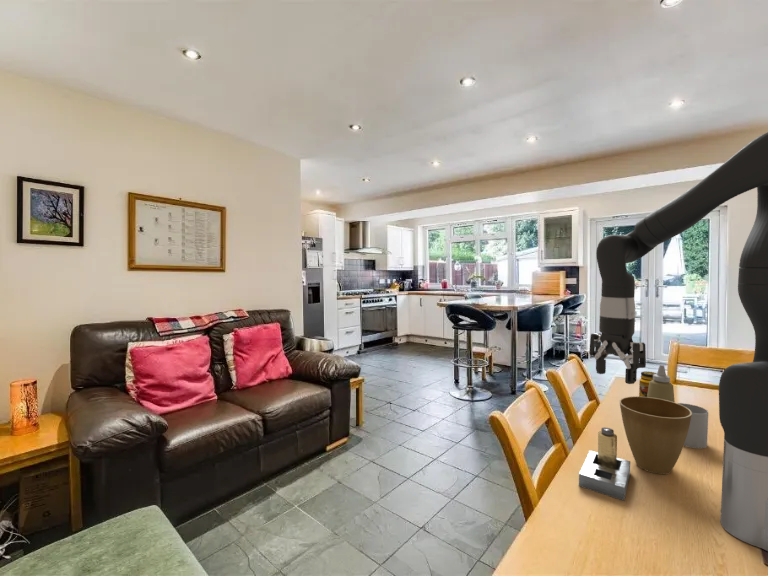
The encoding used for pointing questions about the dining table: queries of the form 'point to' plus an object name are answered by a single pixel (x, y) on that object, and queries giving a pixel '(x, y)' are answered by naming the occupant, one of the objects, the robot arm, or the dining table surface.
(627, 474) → the steel socket block
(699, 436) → the cup
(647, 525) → the dining table surface
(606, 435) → the spice shaker
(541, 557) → the dining table surface
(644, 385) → the condiment
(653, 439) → the plant pot
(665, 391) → the squeeze bottle
